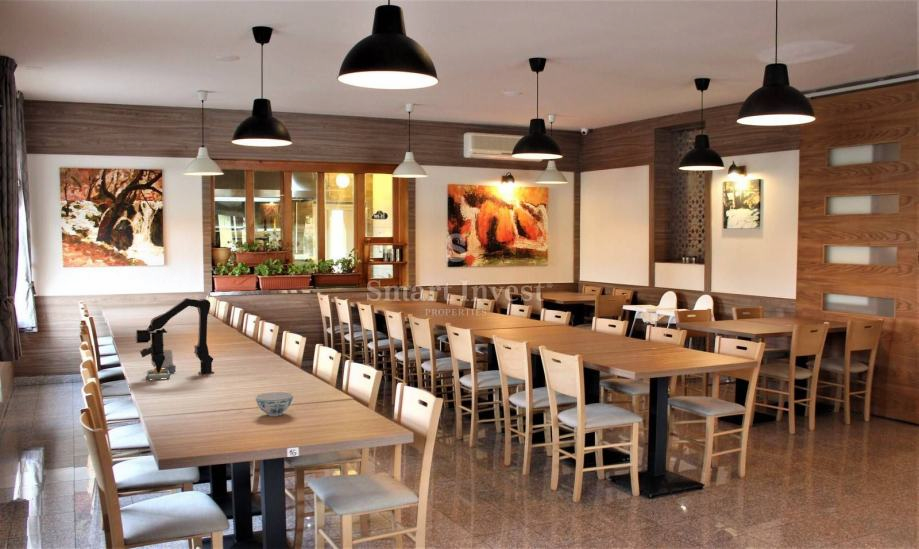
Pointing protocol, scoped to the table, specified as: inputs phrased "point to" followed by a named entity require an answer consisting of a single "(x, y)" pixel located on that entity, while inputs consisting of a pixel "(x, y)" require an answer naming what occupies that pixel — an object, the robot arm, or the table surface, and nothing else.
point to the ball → (157, 372)
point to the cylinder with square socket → (170, 368)
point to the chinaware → (274, 402)
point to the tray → (158, 375)
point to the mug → (166, 359)
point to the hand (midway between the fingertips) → (158, 371)
